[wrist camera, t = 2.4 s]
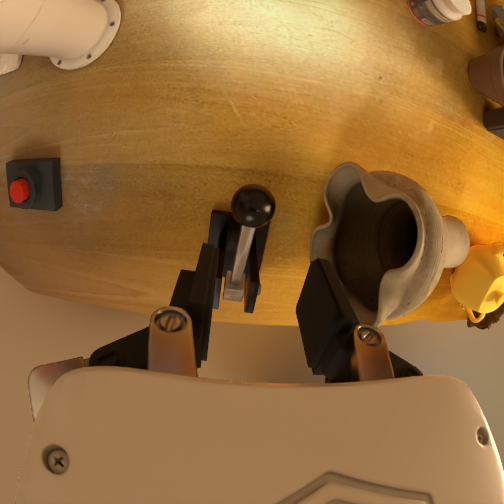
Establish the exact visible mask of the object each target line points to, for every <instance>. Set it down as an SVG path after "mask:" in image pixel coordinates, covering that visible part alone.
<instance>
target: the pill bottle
mask: <svg viewBox="0 0 504 504" xmlns="http://www.w3.org/2000/svg"><path fill="white" fill-rule="evenodd" d="M408 7H409V10H410V12H411V14H412V15H413V16H414V18H415V19H416V20H417V21H419V22H420V23H421V24H423V25H426V26H435V25H439V24H443V23H447V22H452V21H456V20H459V19H461V17H462V15H468V14H470V13H471V4H470V2H469V0H408Z"/></svg>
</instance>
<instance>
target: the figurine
mask: <svg viewBox="0 0 504 504" xmlns="http://www.w3.org/2000/svg"><path fill="white" fill-rule="evenodd" d="M472 312H473V315H474V317H475V318H476V319H477V318H478V317H479V316H480V314H481V313H479V312H476V311H474V310H472ZM503 313H504V302H503V303H502V304H501V305H500V306H499V307H498V308H497V309H496V310H494V311H492V312H489V313H486V314H485V316H484V318H483V319H482V320H481V321H480V322H477V323H474V322H472V321H471V320H470V319H469V317H468V319H467V325H468V327H472V326H476V327H478V328H480V329H486V328H488V329H490V327H491V324H494V323H497V322H498V321H499V318H500V317H501V315H502V314H503Z"/></svg>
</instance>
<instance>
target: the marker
mask: <svg viewBox="0 0 504 504" xmlns="http://www.w3.org/2000/svg"><path fill="white" fill-rule="evenodd" d="M476 11H477V28H478V29H479V30H480V31H482V32H487V27H486V26H487V23H486V9H485V0H476Z"/></svg>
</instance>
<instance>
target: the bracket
mask: <svg viewBox="0 0 504 504" xmlns="http://www.w3.org/2000/svg"><path fill="white" fill-rule="evenodd" d="M269 224H270V221H269V222H268V223H267V224H266V225H264V226H262V227H259V228H255V232H254V236H253V239H252V243H251V247H250V250H249V254H248V258H247V261H246V265H245V269H244V273H246V279H245V292H244V312H247V313H253V311H254V306H255V302H256V298H257V295H260V291H261V284H260V279H259V270H260V266H261V261H262V257H263V252H264V247H265V243H266V238H267V234H268V229H269ZM240 229H241V224H240V223H238V222H237V221H236V219H235V218H234V216H233V214H232V212H226V211H218V210H212V212H211V220H210V229H209V238H208V244H215V248H220V250H219V258H218V267H217V275H216V284H215V292H214V301H213V309H218V307H219V299H220V291H221V284H222V277H226V271H227V270H228V271H232V268H233V264H234V259H235V254H236V249H237V244H238V239H239V234H240Z"/></svg>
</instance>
